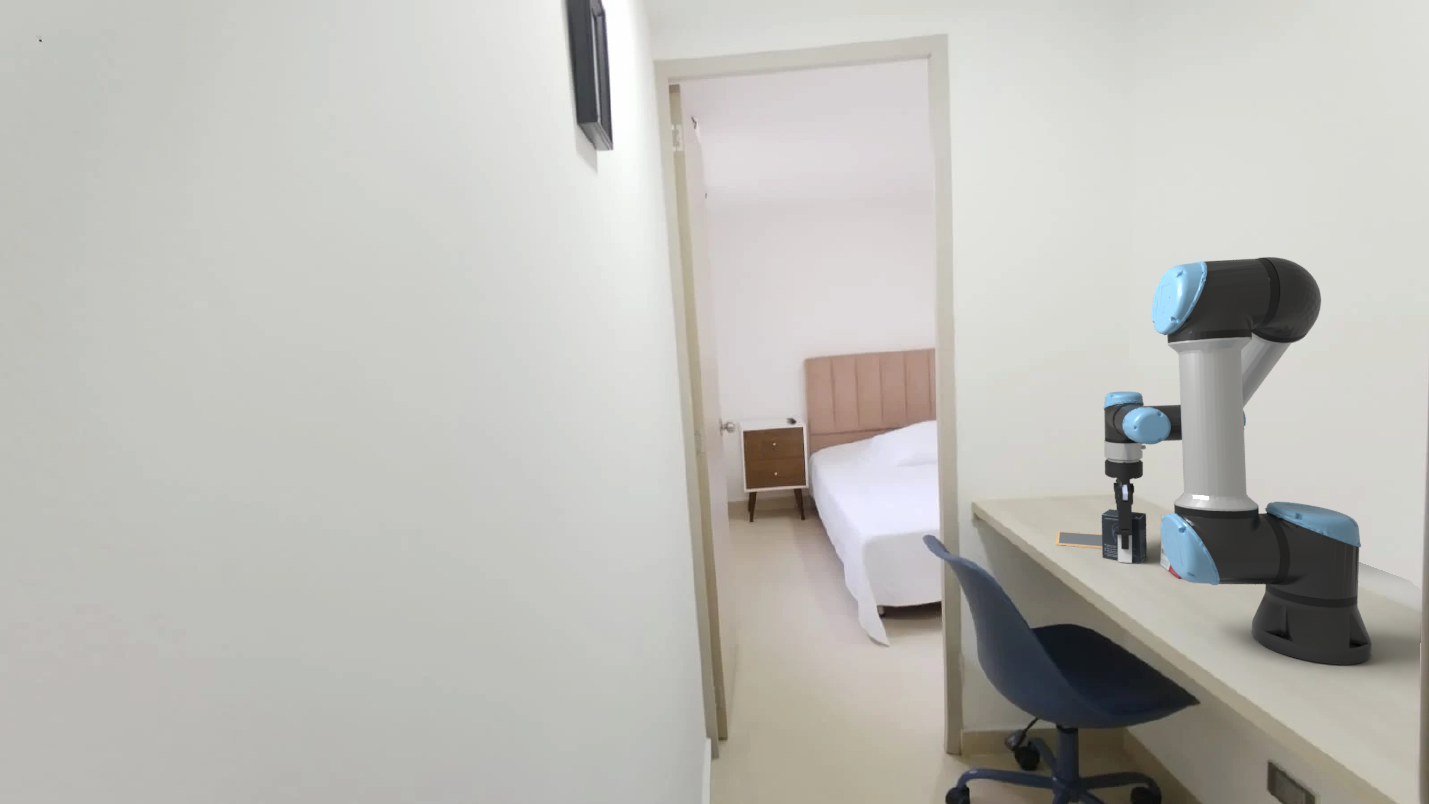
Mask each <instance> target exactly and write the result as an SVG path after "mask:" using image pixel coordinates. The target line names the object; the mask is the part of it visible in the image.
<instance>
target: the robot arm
mask: <svg viewBox="0 0 1429 804" xmlns="http://www.w3.org/2000/svg"><path fill="white" fill-rule="evenodd" d="M1321 304H1322V296H1321V291H1320V288H1319V284H1318V282H1317V281H1316V279H1315V278H1314V276H1313V275H1312V274H1311V273H1310V272H1309V271H1308V270H1307V269H1306V268H1305V267H1304V266H1302V265H1301V264H1299V263H1296V262H1295V261H1292V260H1289V259H1286V258H1282V257H1275V256H1274V257H1273V256H1271V257H1269V256H1266V257H1257V258H1246V259H1245V258H1241V259H1239V258H1238V259H1226V260H1222V259H1221V260H1206V261H1196V262H1191V263H1184V264H1177V265H1174V266H1172V267H1171V268H1169V269H1168V270H1167V271H1165V273H1164V274H1162V276H1161V278H1160V280H1159V282H1158V283H1157V286H1156V288H1155V291H1154V296H1153V300H1152V306H1151V319H1152V322H1153V327H1154V329H1155V331H1156V332H1157V333H1159V334H1162V335H1163V336H1167V337H1166V338H1167V346H1169V348H1171V350H1173V351H1175V352H1176V353H1177V355H1178V369H1179V372H1178V373H1179V396H1180V398H1179V399H1180V404H1172V405H1171V404H1169V405H1167V404H1165V405H1145V403H1144V400H1143V394H1142V393H1140V392H1139V391H1138V392H1137V391H1111V392H1109V393H1106V394H1105V396H1104V405H1103V410H1104V412H1103V413H1104V416H1103V417H1104V443H1103V445H1104V452H1103V453H1104V457H1105V458H1106V459H1105V460H1104V474H1105V476H1107V477H1108V478H1111V479H1116V480H1115V482H1113V492H1114V500H1115V504H1116V510H1118V522H1119V530H1118V532H1115V534H1116V535H1118V560H1117V562H1118V563H1125V564H1126V563H1127V564H1133V562H1132V534H1133V531H1132V512H1133V509H1132V506H1133V505H1134V493H1135V485H1134V483H1133V482H1132V483H1131V480H1132V479H1134V480H1136V479H1141V478H1142V477H1143V474H1144V462H1143V460H1142V459H1143V450H1146V449H1147V447H1146V445H1156V444H1159V443H1161V442H1166V441H1167V442H1169V441H1170V442H1171V441H1181V445H1182V470H1183V472H1182V473H1183V493H1182V494H1180V496H1179V497H1177V499H1175V500H1174V502H1173V504H1174V505H1173V506H1174V507H1173V508H1174V509H1173V510H1174V511H1173V512H1170V513H1168V514H1164V515H1165V516H1164V517H1163V519H1162V524H1161V523H1160V539H1161V538H1162V543H1163V547H1164V550H1165V553H1166V556H1167V558H1168V560H1169V562H1170V564H1171V566H1172V568H1173V569H1174V571H1175V572H1176V573H1177V574H1178V575H1179V576H1180V577H1181V578H1182V579H1183V580H1184V581H1186V582H1188V583H1193V584H1207V585H1212V586H1218V585H1265V590H1264V595H1263V597H1262V599H1261V601H1260V603H1259V606H1258V607H1257V609H1256V612H1255V614H1254V616H1253V618H1252V621H1251V635H1252V637H1253V639H1254V640H1255V641H1256V642H1257V643H1259V644H1261V645H1262V646H1264V647H1265V648H1268V649H1270V650H1272V651H1275V652H1277V653H1279V654H1282V655H1285V656H1289V657H1292V658H1296V659H1300V660H1304V661H1309V662H1313V663H1320V664H1327V665H1329V664H1330V665H1356V664H1361V663H1364V662H1366V661H1368V660H1369V659H1371V657H1372V640H1371V638H1370V635H1369V633H1368V630H1367V627H1366V624H1365V622H1364V620H1363V617H1362V615H1361V612H1360V610H1359V607H1358V602H1359V601H1358V597H1359V596H1358V594H1359V593H1358V592H1359V571H1360V570H1359V569H1360V567H1359V566H1360V548H1362V543H1361V537H1360V527H1359V525H1358V522H1357V521H1356V520H1355V519H1354V518H1353V517H1351V516H1349V515H1348V514H1345V513H1343V512H1339V511H1337V510H1333V509H1329V508H1324V507H1321V506H1317V505H1312V504H1311V505H1309V504H1305V503H1297V502H1288V501H1273V502H1268V503H1267V505H1266V507H1265V508H1264V509H1265V512H1264V513H1260V509H1259V504H1258V503H1257V502H1256V501H1254V500H1253V499H1252V498H1251V497H1249V495H1248V494H1247V477H1246V476H1247V474H1246V472H1247V471H1246V470H1247V469H1246V450H1245V447H1246V445H1245V426H1246V425H1247V418H1246V413H1245V410H1244V408H1245V407H1246V405H1247V404H1248V402H1250V400H1251V398H1252V397H1253V395H1254V394H1255V393H1256V392H1257V390H1258V389H1259V388H1260V387H1261V385H1262V383H1263V382H1264V380H1266V378H1267V377H1268V375H1269V374H1270V373H1271V371H1272V370H1273V369H1274V368H1275V366H1276V365H1277V363H1278V362H1279V361H1280V360H1281V358H1282V357H1283V356H1284V354H1285V352H1286V351H1287V350H1288V349H1289V347H1290V346H1291V345H1292V344H1294V343H1297V342H1300V341H1301V340H1303V339H1304V338H1305V337H1306V336H1307V334H1308V333H1309V332H1310V331H1311V329H1313V327H1314V325H1315V323H1316V321H1317V320H1318V318H1319V314H1320V311H1321Z"/></svg>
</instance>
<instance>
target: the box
mask: <svg viewBox="0 0 1429 804" xmlns="http://www.w3.org/2000/svg"><path fill="white" fill-rule="evenodd" d="M1118 530H1119V522H1118V510H1117V509H1111V508H1109V509H1108V510H1106V511H1104V512H1103V513H1102V514H1101V534H1102V549H1101V551H1102V552H1101V553H1102V558H1103V559H1110V560H1116V561H1118V535H1116V534H1115V532H1118ZM1132 531H1133V534H1132V563H1134V564H1135V563H1136V564H1140V563H1143V561H1144V560H1145V559H1147V551H1148V550H1147V547H1148V546H1147V513H1144V512H1138V511H1135V512H1134V511H1132Z"/></svg>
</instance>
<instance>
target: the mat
mask: <svg viewBox="0 0 1429 804" xmlns="http://www.w3.org/2000/svg"><path fill="white" fill-rule="evenodd" d="M1055 538H1056V539H1055V546H1060V545H1066V546H1065V547H1073V546H1075V548H1086V549H1087V548H1088V549H1098V550H1099V549H1101V550H1102V533H1089V532H1078V531H1077V532H1076V531H1075V532H1074V531H1062V530H1056V537H1055Z"/></svg>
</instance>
